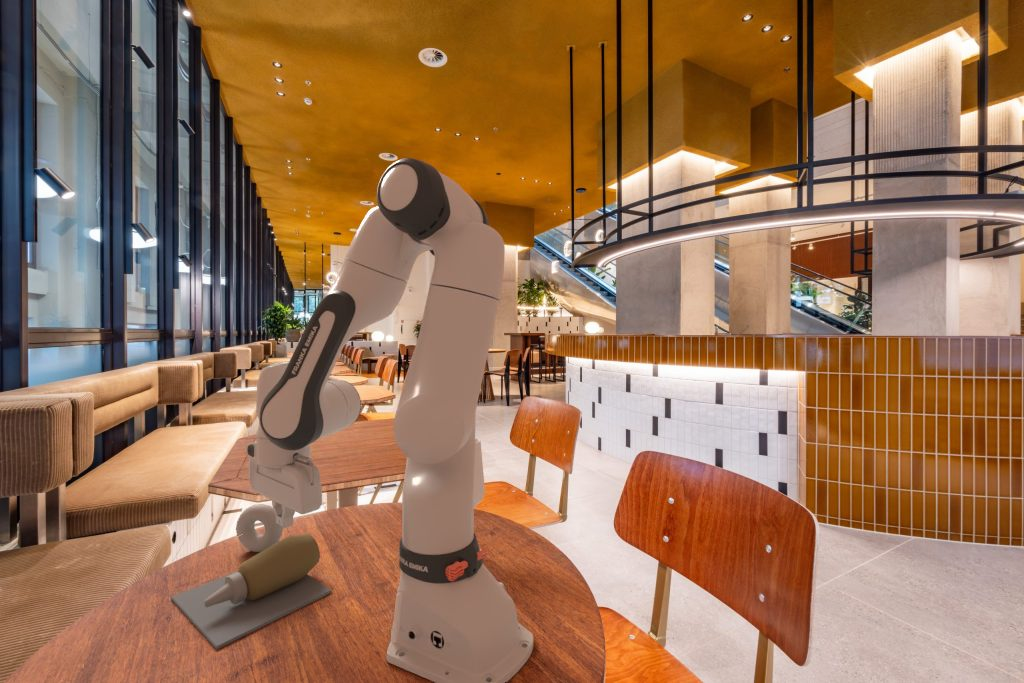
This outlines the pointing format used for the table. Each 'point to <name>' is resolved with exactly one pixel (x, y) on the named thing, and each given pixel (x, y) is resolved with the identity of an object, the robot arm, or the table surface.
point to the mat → (244, 608)
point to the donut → (250, 536)
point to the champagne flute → (478, 474)
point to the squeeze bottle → (269, 570)
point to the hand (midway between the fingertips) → (284, 524)
